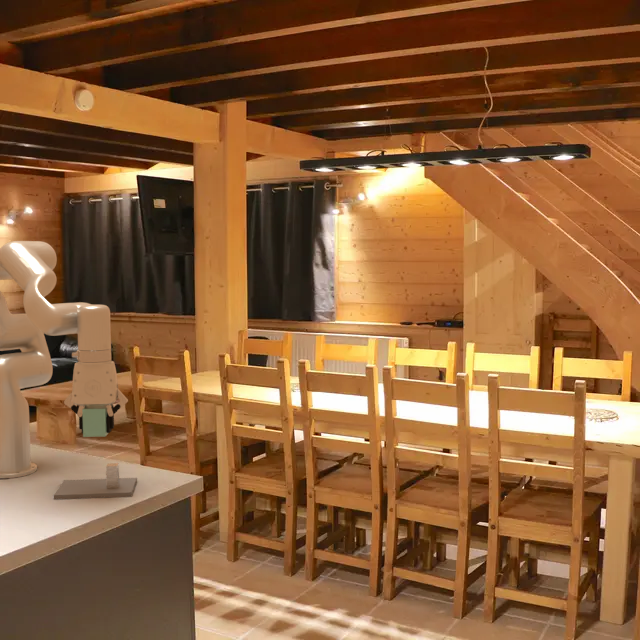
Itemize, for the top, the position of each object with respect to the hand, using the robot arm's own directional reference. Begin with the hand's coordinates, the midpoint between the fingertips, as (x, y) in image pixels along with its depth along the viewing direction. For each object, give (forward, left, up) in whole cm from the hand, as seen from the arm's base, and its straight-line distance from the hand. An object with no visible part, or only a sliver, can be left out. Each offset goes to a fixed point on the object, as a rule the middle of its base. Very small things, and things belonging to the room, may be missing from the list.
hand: (96, 431), depth 183 cm
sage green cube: (0, 0, -1) cm, 1 cm away
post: (+3, +3, -16) cm, 16 cm away
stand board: (-1, +4, -16) cm, 16 cm away
